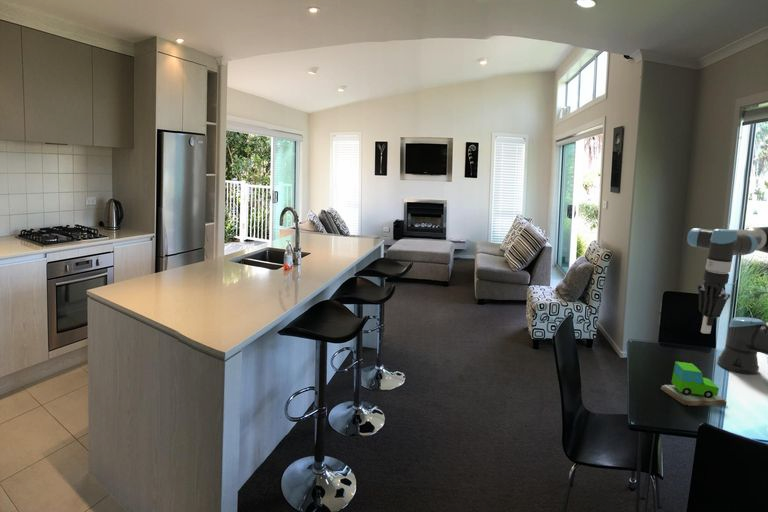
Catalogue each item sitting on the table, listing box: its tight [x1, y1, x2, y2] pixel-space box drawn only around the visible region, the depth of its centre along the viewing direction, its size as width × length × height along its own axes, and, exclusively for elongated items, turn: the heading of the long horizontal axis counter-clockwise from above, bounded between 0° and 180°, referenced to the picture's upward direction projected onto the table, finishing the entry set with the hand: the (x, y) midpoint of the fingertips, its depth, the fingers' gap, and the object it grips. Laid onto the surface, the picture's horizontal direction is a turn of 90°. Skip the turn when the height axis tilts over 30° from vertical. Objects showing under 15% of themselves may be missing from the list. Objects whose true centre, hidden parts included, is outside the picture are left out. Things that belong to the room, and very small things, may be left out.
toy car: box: [671, 361, 720, 398], centre depth 186 cm, size 10×13×10 cm
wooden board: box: [660, 384, 727, 406], centre depth 188 cm, size 17×13×2 cm
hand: (705, 332), depth 183 cm, fingers closed
